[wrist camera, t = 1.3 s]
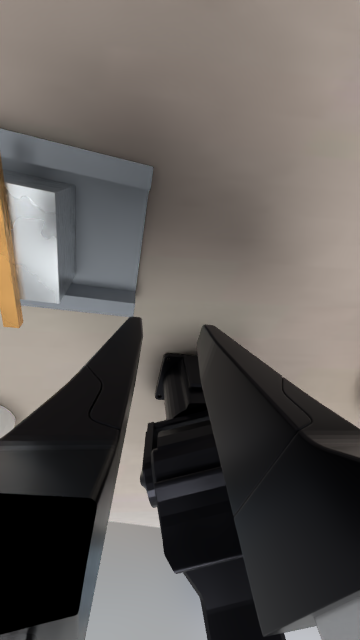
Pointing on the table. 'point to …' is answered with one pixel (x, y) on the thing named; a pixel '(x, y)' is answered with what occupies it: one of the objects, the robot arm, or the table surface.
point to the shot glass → (6, 421)
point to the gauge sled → (34, 242)
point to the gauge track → (91, 218)
